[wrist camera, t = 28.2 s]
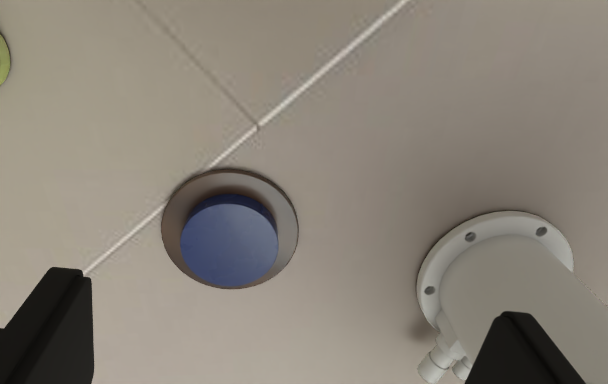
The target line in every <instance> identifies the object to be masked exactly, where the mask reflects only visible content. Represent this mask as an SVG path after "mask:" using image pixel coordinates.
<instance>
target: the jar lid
mask: <svg viewBox="0 0 608 384" xmlns="http://www.w3.org/2000/svg"><path fill="white" fill-rule="evenodd" d="M180 249H181V253H182V257H183V259H184V261H185V263H186V264H187V266H188V267H189V268H190V269H191V271H193V272H194V273H195V274H196V275H197V276H199V277H200V278H202V279H203V280H205V281H208V282H210V283H213V284H216V285H221V286H240V285H244V284H248V283H251V282H253V281H255V280H257V279H259V278H260V277H262V276H263V275H264V274H265V273H267V272H268V270H269V269H270V268H271V267H272V265H273V264H274V262H275V260H276V257H277V254H278V230H277V225H276V222H275V220H274V218H273V216H272V215H271V213H270V212H269V211H268V210H267V209H266V208H265V207H264V206H263V204H262V203H261V204H260V203H259V202H257V201H256V200H254V199H252V198H249V197H246V196H243V195H238V194H222V195H217V196H213V197H210V198H208V199H206V200H204V201H202V202H201V203H199V204H198V205H197V206H196V207H195V208H194V209H193V210H192V211H191V212H190V214H189V216H188V217H187V220H186V222H185V225H184V228H183V231H182V234H181V238H180Z"/></svg>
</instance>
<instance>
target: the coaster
mask: <svg viewBox="0 0 608 384" xmlns="http://www.w3.org/2000/svg"><path fill="white" fill-rule="evenodd" d="M222 194H238V195H243V196H246V197H249V198H252V199H254V200H256V201H257V202H259V203H260V204H261V203H262V204H263V206H264V207H265V208H266V209H267V210H268V211H269V212H270V213H271V215H272V216H273V218H274V220H275V222H276V225H277V230H278V254H277V257H276V260H275V262H274V264H273V265H272V267H271V268H270V269H269V270H268V272H267V273H265V274H264V275H263V276H262V277H260V278H259V279H257V280H255V281H253V282H251V283H248V284H244V285H240V286H221V285H216V284H213V283H210V282H208V281H205V280H203V279H202V278H200V277H199V276H197V275H196V274H195V273H194V272H193V271H191V269H190V268H189V267H188V266H187V264H186V263H185V261H184V259H183V257H182V253H181V249H180V238H181V234H182V231H183V228H184V225H185V222H186V220H187V217H188V216H189V214H190V212H191V211H192V210H193V209H194V208H195V207H196V206H197V205H198V204H199V203H201V202H202V201H204V200H206V199H208V198H210V197H213V196H217V195H222ZM298 230H299V229H298V221H297V216H296V213H295V210H294V208H293V206H292V204H291V202H290V201H289V199H288V197H287V196H286V195H285V194H284V193H283V191H282V190H280V189H279V188H278V187H277V186H276V185H275V184H273V183H272V182H270V181H269V180H267V179H265V178H263V177H261V176H259V175H257V174H254V173H251V172H247V171H243V170H234V169H222V170H214V171H210V172H206V173H203V174H201V175H198V176H196V177H194V178H192V179H190V180H189V181H187V182H186V183H185V184H183V185H182V186H181V187H180V188H179V189H178V190H177V191H176V192H175V193H174V195H173V196H172V197H171V199H170V200H169V202H168V204H167V206H166V208H165V211H164V214H163V218H162V224H161V233H162V240H163V243H164V247H165V249H166V251H167V253H168V255H169V257H170V258H171V260H172V261H173V262H174V264H175V265H176V266H177V267H178V268H179V269H180V270H181V271H182V272H183V273H185V274H186V275H187V276H189V277H190V278H192V279H194V280H196V281H198V282H200V283H202V284H205V285H208V286H211V287H216V288H221V289H242V288H248V287H252V286H255V285H258V284H261V283H263V282H265V281H267V280H269V279H271V278H272V277H274V276H275V275H277V274H278V273H279V272H280V271H281V270H282V269H283V268H284V267H285V266H286V265H287V264H288V262H289V261H290V259H291V258H292V256H293V254H294V252H295V249H296V246H297V242H298Z"/></svg>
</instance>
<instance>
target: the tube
mask: <svg viewBox="0 0 608 384" xmlns="http://www.w3.org/2000/svg"><path fill="white" fill-rule="evenodd" d="M9 70H10V55H9V51H8V48H7V45H6V43H5V41H4V39H3V37H2V36H1V34H0V85H1V84H2V83H3V82H4V81H5V79H6V77H7V75H8V73H9Z"/></svg>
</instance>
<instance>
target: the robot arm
mask: <svg viewBox="0 0 608 384" xmlns="http://www.w3.org/2000/svg"><path fill="white" fill-rule="evenodd" d="M573 267H574V260H573V253H572V250H571V247H570V245H569V243H568V241H567V239H566V238H565V237H564V236H563V234H562V233H561V232H560V231H559V230H558V229H557V228H555V227H554V226H553V225H552V224H551V223H550V222H548V221H546V220H544V219H543V218H541V217H539V216H536V215H533V214H530V213H526V212H518V211H501V212H493V213H489V214H485V215H481V216H478V217H476V218H473V219H471V220H468V221H466V222H464V223H462V224H461V225H459V226H457V227H456V228H454V229H452V230H451V231H450V232H449V233H447V234H446V235H445V236H444V237H443V238H441V239H440V240H439V241H438V242H437V244H436V245H435V246H434V247H433V248H432V249H431V250H430V252H429V253H428V255H427V257H426V258H425V260H424V262H423V263H422V266H421V269H420V272H419V274H418V280H417V287H416V288H417V299H418V302H419V304H420V307H421V310H422V312H423V314H424V315H425V317H426V319H427V321H428V322H429V323H430V324H431V325H432V327H433V328H434V329H436V330H437V331H438V332H440V333H439V335H438V336H437V337H436V344H437V345H436V347H435V348H434V349H433V350H432V351H430V352H429V353H428V354H427V355H426V356H425V358H424V359H423V360H422V361H421V363H420V364H419V365H418V367H417V370H418V373H419V374H420V376H421V377H422V378H423V379H424V380H425V381H427V382H428V383H431V384H436V383H437V382H438V380H439V379H440V378H441V377H442V376H443V375H444V373H445V372H446V371H447V370H448V368H449V365H450V364H451V363H452V362H453V361H454V360H458V362H457V363H456V364H455V365H454V366H453V367H452V371H453V372H454V374H455V375H456V376H457V377H458V378H460V379H462V380H466V382H465V384H608V307H607V306H606V305H605V304H604V303H603V302H602V301H601V300H600V299H599V298H598V297H597V296H596V295H595V294H594V293H593V292H592V291H591V290H590V289H589V288H588V287H587V286H586V285H585V284H583V283H582V282H581V281H580V280H579V279H578V278H577V277H576V276H575V275H574V274H573ZM93 374H94V347H93V315H92V283H91V279H90V278H89V277H83V272H82V270H79V269H69V268H59V267H52V268H50V269H49V270H48V271H47V272H46V274H45V275H44V276H43V278H42V279H41V280H40V282H39V283H38V284H37V286H36V287H35V288H34V290H33V291H32V292H31V294H30V295H29V296H28V298H27V299H26V300H25V302H24V303H23V304H22V306H21V307H20V308H19V310H18V311H17V312H16V314H15V315H14V316H13V318H12V319H11V320H10V322H9V323H8V324H7V326H6V327H5V328H4V329H2V328H0V384H91V383H92V379H93ZM466 378H467V379H466Z"/></svg>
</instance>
